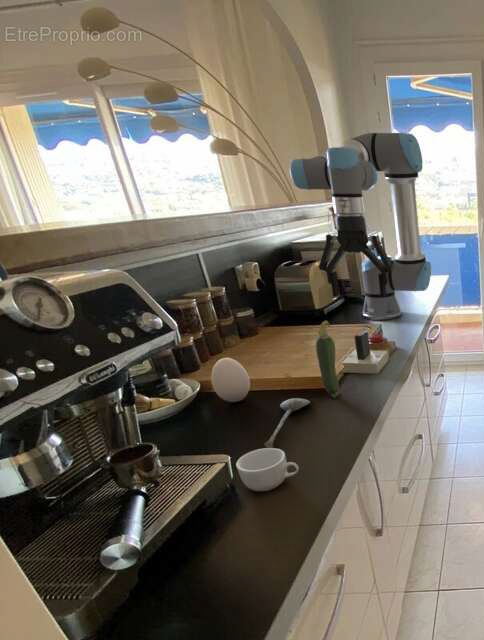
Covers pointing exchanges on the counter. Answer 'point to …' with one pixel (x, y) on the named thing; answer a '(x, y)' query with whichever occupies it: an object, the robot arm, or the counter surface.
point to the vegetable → (327, 360)
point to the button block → (383, 346)
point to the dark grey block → (362, 345)
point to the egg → (230, 380)
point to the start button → (376, 338)
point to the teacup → (264, 469)
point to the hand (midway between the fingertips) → (360, 296)
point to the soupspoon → (286, 415)
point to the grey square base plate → (365, 362)
